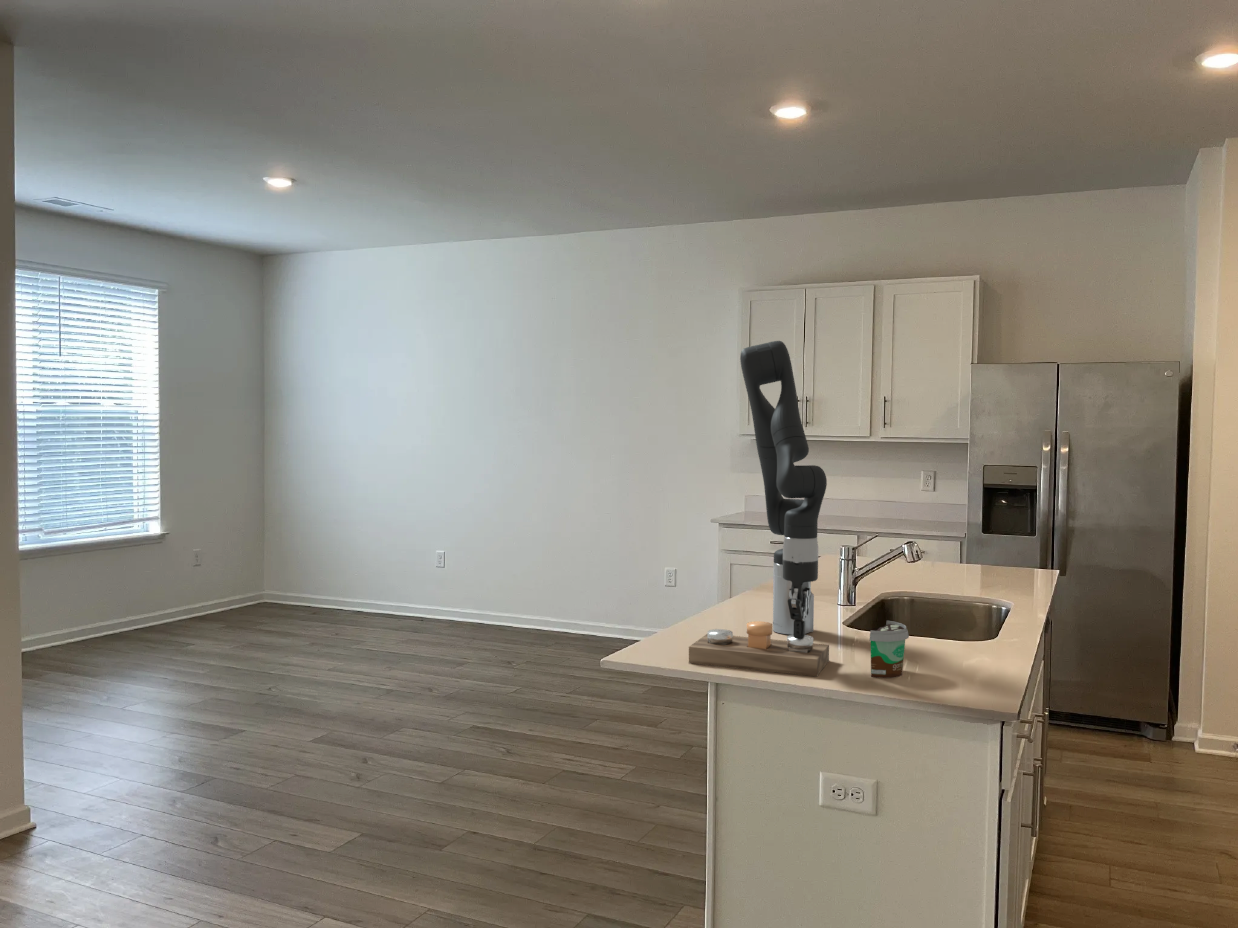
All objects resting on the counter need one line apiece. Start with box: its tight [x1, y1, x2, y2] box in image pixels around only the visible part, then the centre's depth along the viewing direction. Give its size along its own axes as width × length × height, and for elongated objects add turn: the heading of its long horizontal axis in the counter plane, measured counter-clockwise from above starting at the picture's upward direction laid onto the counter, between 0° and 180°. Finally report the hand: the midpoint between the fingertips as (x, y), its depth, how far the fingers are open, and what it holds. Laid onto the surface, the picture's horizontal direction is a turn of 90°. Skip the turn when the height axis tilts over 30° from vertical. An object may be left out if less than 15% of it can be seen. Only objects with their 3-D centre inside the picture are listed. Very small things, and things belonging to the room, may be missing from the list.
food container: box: [869, 620, 910, 679], centre depth 206 cm, size 12×6×10 cm, turn 148°
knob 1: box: [706, 628, 734, 645], centre depth 219 cm, size 6×6×5 cm
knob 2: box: [786, 634, 814, 653], centre depth 212 cm, size 6×6×5 cm
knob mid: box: [746, 620, 773, 649], centre depth 215 cm, size 6×6×5 cm
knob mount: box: [688, 633, 830, 677], centre depth 215 cm, size 14×28×4 cm, turn 68°
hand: (799, 637), depth 212 cm, fingers closed
